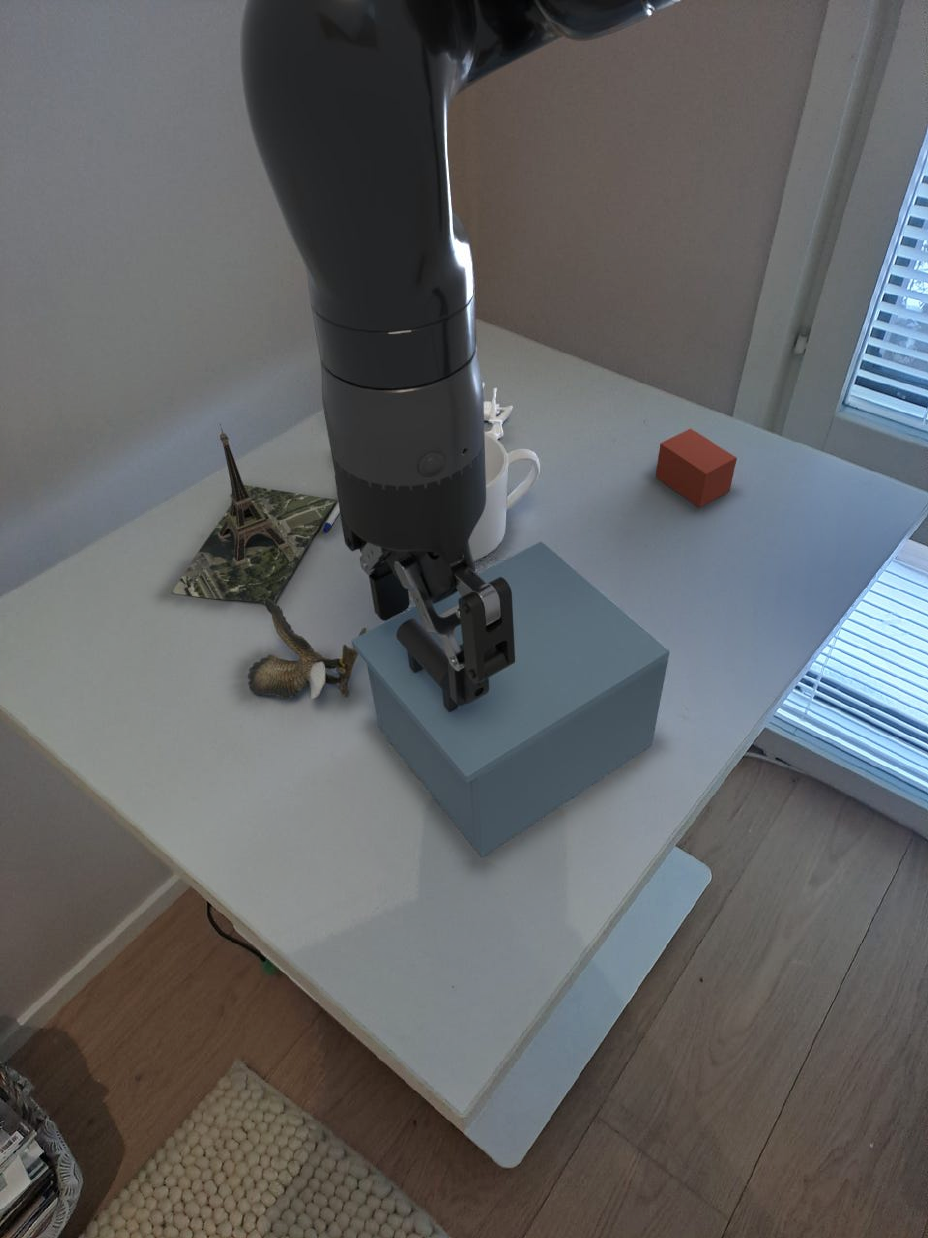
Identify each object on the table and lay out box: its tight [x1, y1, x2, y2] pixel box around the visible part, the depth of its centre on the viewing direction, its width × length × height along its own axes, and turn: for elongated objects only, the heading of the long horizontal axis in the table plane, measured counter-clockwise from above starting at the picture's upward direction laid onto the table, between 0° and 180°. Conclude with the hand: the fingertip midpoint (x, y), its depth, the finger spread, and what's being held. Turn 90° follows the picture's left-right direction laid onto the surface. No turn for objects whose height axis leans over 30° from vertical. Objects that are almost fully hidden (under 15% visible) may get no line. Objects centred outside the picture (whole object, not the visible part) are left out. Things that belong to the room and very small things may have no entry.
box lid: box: [351, 541, 670, 783], centre depth 59 cm, size 16×14×5 cm
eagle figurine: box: [247, 597, 367, 700], centre depth 70 cm, size 8×7×9 cm
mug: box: [468, 431, 541, 562], centre depth 81 cm, size 13×10×8 cm
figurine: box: [482, 381, 514, 441], centre depth 94 cm, size 3×8×8 cm
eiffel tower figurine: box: [171, 423, 337, 604], centre depth 79 cm, size 15×10×13 cm
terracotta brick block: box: [655, 428, 738, 508], centre depth 86 cm, size 6×4×4 cm, turn 35°
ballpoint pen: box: [322, 500, 340, 533], centre depth 88 cm, size 10×1×1 cm, turn 165°
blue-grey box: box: [366, 658, 669, 858], centre depth 64 cm, size 16×14×10 cm
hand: (429, 652), depth 55 cm, fingers open, 8 cm apart
